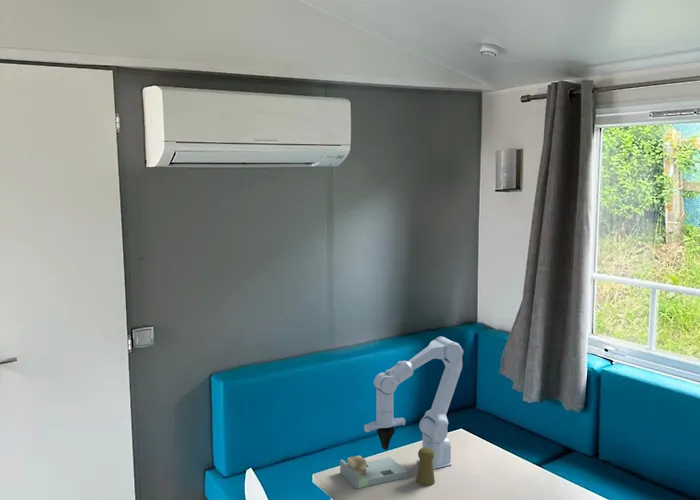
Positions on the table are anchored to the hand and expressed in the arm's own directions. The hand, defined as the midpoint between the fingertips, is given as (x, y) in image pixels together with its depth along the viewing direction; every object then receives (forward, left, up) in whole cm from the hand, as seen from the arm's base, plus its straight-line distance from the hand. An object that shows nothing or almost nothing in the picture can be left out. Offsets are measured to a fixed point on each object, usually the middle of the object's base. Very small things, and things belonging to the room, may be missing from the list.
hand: (384, 448), depth 207 cm
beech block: (+10, 0, -7) cm, 12 cm away
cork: (-9, +11, -9) cm, 17 cm away
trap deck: (+4, 0, -9) cm, 9 cm away
